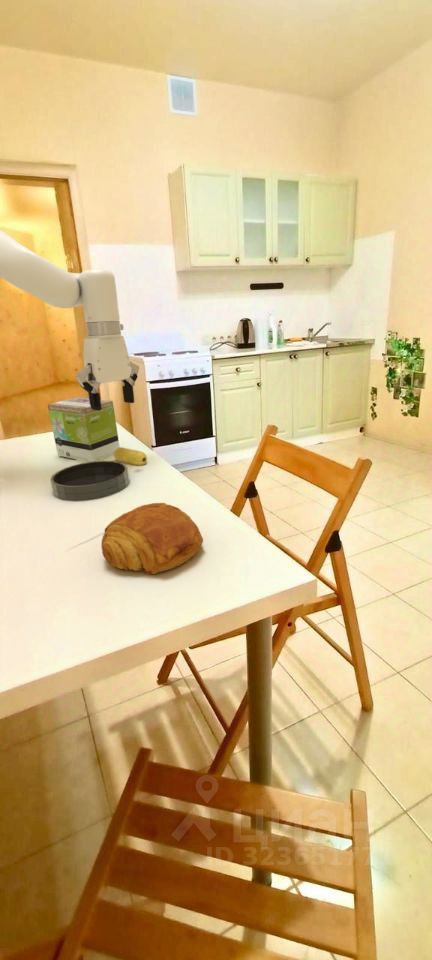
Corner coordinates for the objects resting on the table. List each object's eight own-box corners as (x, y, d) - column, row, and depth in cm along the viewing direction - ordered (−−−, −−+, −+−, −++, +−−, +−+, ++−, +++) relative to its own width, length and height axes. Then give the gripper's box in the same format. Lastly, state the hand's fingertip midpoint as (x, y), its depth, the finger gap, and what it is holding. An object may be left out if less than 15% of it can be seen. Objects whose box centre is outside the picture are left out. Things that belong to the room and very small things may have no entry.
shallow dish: (38, 492, 97) (35, 477, 96) (100, 470, 109) (98, 457, 107) (81, 509, 87) (78, 492, 86) (145, 483, 99) (143, 468, 97)
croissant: (94, 565, 71) (78, 522, 68) (172, 520, 79) (161, 480, 76) (142, 602, 60) (126, 553, 57) (226, 546, 69) (216, 500, 65)
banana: (109, 459, 114) (112, 445, 114) (120, 461, 117) (123, 447, 117) (138, 466, 107) (141, 451, 107) (149, 468, 110) (152, 453, 110)
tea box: (56, 457, 122) (45, 403, 117) (85, 447, 130) (76, 396, 124) (93, 464, 114) (83, 406, 109) (122, 453, 121) (114, 399, 116)
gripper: (123, 328, 109) (131, 398, 115) (60, 333, 97) (72, 411, 103) (144, 328, 104) (151, 401, 110) (80, 332, 92) (92, 414, 98)
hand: (113, 406), depth 107 cm, fingers open, 9 cm apart
